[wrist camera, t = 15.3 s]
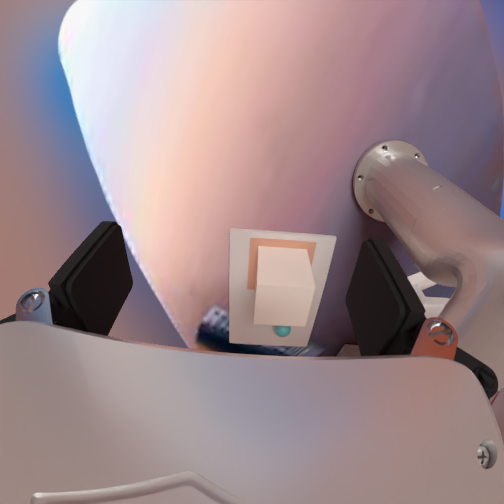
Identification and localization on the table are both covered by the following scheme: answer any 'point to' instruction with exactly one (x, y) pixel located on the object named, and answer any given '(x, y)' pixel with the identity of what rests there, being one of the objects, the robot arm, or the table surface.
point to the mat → (245, 278)
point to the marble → (282, 330)
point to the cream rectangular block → (283, 286)
